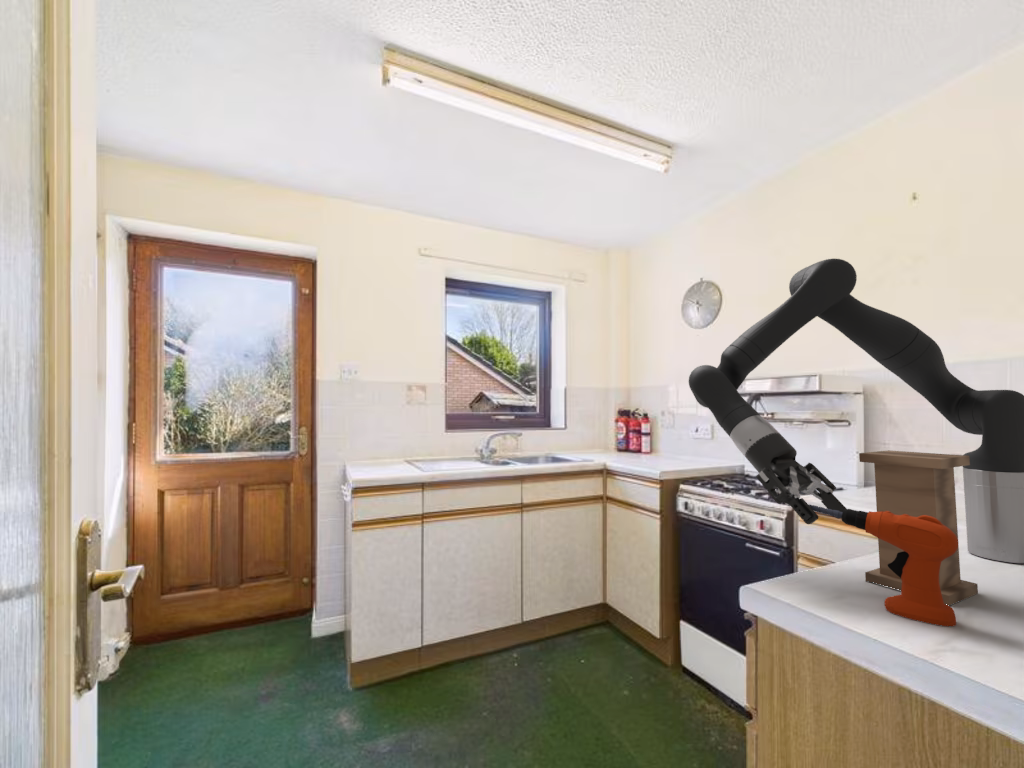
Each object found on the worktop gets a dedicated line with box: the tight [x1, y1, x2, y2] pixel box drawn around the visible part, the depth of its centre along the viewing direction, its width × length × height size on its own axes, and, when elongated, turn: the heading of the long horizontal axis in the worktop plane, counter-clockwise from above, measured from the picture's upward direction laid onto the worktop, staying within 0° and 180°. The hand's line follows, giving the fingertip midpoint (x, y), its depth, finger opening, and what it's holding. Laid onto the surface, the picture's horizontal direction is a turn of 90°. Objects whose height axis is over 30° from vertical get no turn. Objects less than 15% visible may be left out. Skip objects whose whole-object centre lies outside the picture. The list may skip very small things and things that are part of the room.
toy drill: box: [808, 504, 959, 627], centre depth 69 cm, size 5×19×15 cm, turn 42°
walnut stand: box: [858, 450, 979, 606], centre depth 75 cm, size 10×11×22 cm
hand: (829, 518), depth 75 cm, fingers open, 8 cm apart
